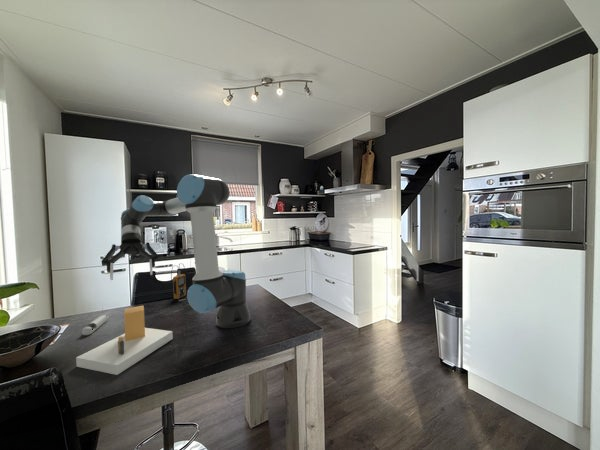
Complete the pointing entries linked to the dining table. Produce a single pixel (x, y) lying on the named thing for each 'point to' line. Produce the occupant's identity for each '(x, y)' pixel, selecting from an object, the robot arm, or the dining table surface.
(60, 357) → the dining table surface
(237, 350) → the dining table surface
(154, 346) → the white base board
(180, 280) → the multimeter
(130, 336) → the orange upright block
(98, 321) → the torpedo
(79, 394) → the dining table surface
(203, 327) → the dining table surface
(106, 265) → the robot arm
